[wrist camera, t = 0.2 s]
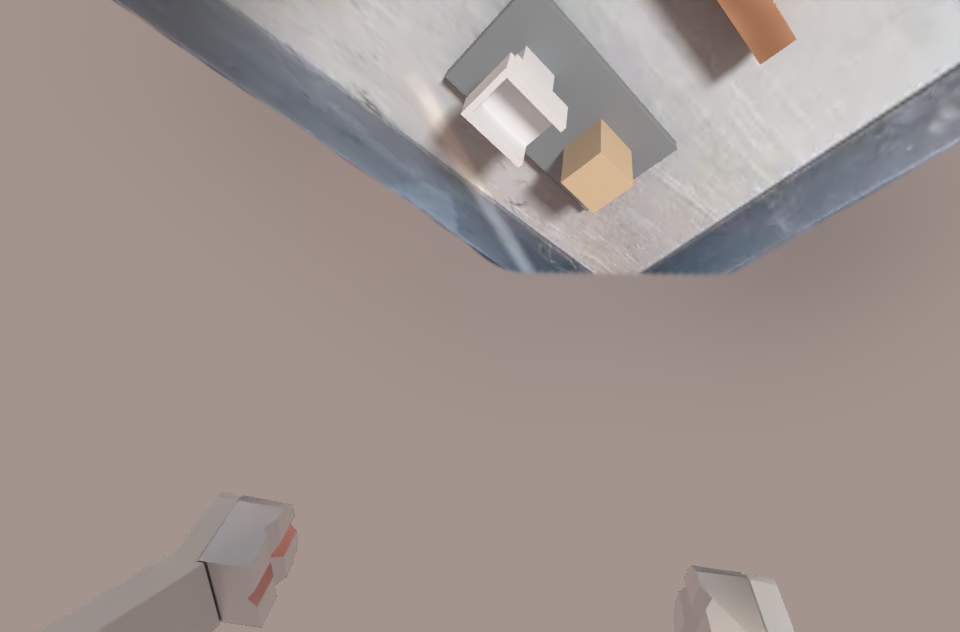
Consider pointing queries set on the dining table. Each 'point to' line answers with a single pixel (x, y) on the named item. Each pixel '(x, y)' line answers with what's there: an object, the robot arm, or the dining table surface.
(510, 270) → the dining table surface
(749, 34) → the rail
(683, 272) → the dining table surface
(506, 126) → the rail stand
